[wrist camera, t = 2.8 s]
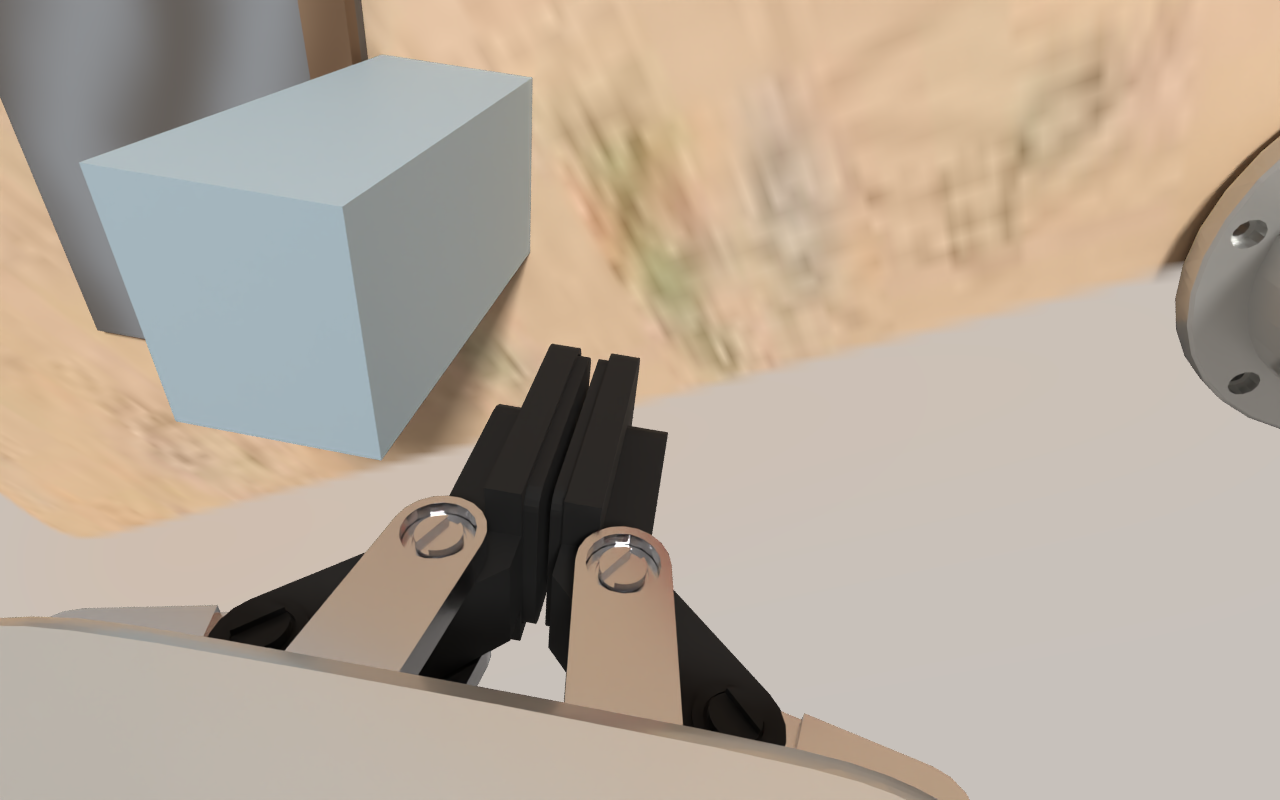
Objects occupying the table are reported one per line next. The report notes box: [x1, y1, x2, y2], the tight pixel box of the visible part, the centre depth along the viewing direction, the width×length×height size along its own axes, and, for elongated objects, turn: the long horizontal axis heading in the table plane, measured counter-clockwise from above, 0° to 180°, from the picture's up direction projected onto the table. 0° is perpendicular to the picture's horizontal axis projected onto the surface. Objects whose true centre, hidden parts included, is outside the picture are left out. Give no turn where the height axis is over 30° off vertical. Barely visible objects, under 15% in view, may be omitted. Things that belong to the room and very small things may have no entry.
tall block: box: [79, 55, 532, 460], centre depth 19 cm, size 5×6×12 cm
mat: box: [0, 0, 368, 339], centre depth 24 cm, size 14×20×1 cm
